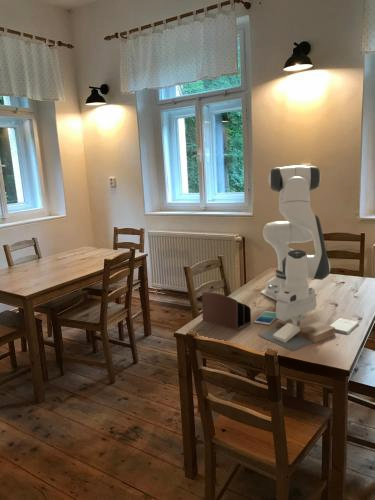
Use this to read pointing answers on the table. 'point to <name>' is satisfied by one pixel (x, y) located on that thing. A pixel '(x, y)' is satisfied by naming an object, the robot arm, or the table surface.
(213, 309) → the letter holder
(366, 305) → the table surface
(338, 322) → the external hard drive
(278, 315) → the robot arm
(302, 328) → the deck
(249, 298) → the table surface
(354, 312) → the table surface
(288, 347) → the mat
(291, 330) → the cream flat block
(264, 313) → the smartphone
